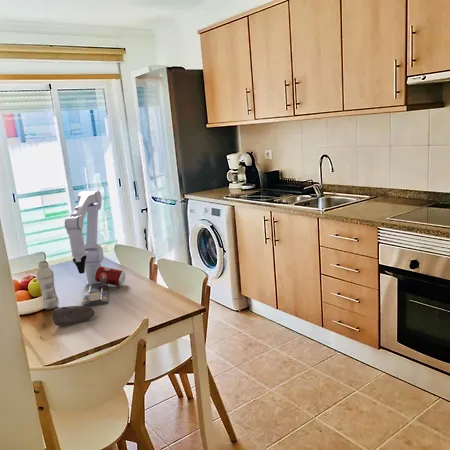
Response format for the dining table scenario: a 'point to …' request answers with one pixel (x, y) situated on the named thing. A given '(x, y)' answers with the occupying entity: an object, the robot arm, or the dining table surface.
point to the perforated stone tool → (72, 315)
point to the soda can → (110, 276)
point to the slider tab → (94, 295)
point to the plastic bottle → (47, 285)
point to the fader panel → (102, 290)
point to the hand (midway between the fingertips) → (82, 273)
